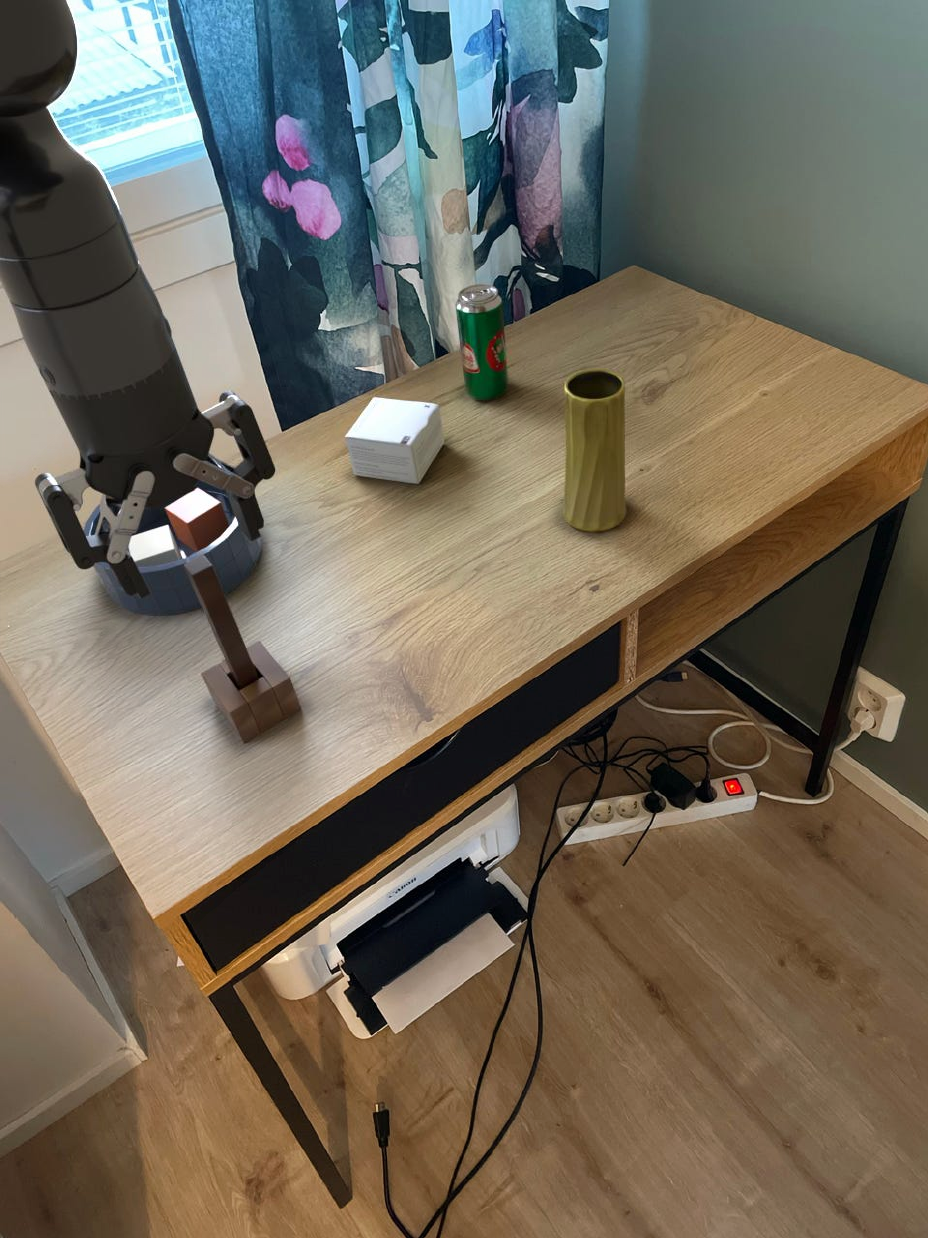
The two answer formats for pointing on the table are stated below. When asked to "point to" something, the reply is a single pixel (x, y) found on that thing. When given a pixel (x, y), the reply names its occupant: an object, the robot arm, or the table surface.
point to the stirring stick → (221, 620)
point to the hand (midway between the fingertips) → (197, 562)
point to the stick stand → (253, 694)
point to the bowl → (182, 562)
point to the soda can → (482, 341)
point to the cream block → (154, 547)
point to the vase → (595, 450)
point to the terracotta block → (197, 519)
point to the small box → (395, 440)
